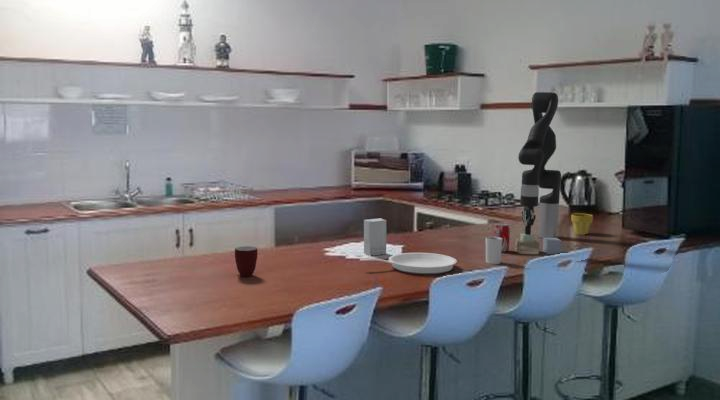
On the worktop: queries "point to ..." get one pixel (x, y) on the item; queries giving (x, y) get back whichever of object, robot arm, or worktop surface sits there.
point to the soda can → (502, 235)
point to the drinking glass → (493, 250)
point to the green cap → (527, 237)
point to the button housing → (527, 247)
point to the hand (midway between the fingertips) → (527, 234)
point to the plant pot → (581, 223)
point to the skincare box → (375, 236)
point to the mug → (246, 260)
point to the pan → (420, 263)
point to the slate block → (551, 245)
